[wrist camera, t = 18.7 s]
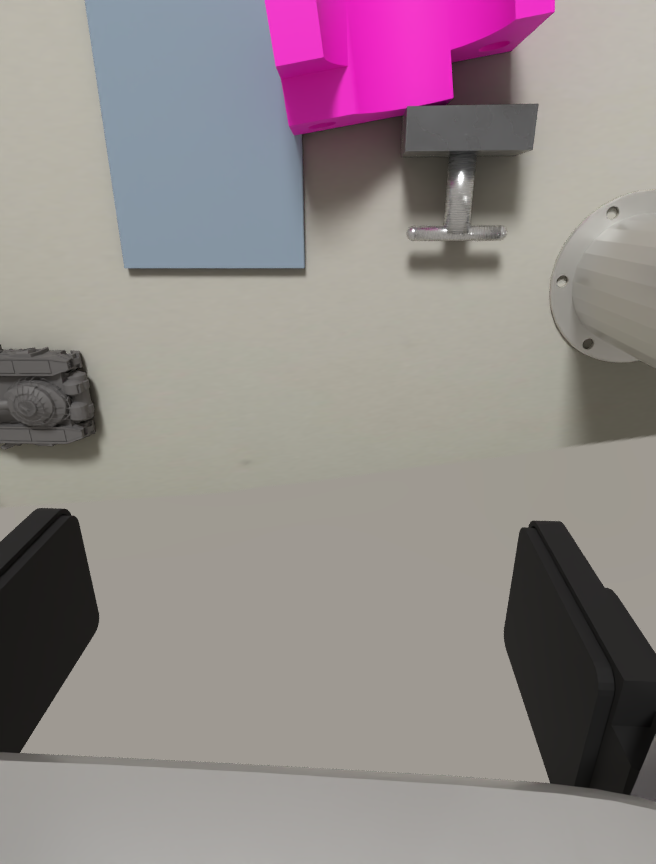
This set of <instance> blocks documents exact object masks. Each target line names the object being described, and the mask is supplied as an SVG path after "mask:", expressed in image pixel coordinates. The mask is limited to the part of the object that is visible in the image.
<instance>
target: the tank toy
mask: <svg viewBox="0 0 656 864" xmlns="http://www.w3.org/2000/svg"><path fill="white" fill-rule="evenodd" d="M77 368H82V361H81V356H80V352H79V351H71V354H66V351H64V350H57V351H49V349H48V347H45V348H43V349H35V348H29V349H23V350H22V349H19V350H13V349H9V350H3V349H2V347H1V344H0V443H6V444H5V445H2V446H1V448H2V449H8V448H10V447H13V446H14V445H19V446H20V445H21V444H23V443H32V444H35V445H39V446H54V445H56V444H68V443H71V442H74V441H77V440H79V439H82V438H84V437H86V436H90V435H91V434H95V432H96V431H95V426H94V421H93V418H92V417H93V416H94V411H95V410H94V405H93V402H91V397H90V392H89V387H90V384H89V380H88V379H87V377H86V373H85V372H82V371H76V370H75V369H77ZM91 418H92V419H91ZM81 421H85V422H81Z"/></svg>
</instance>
